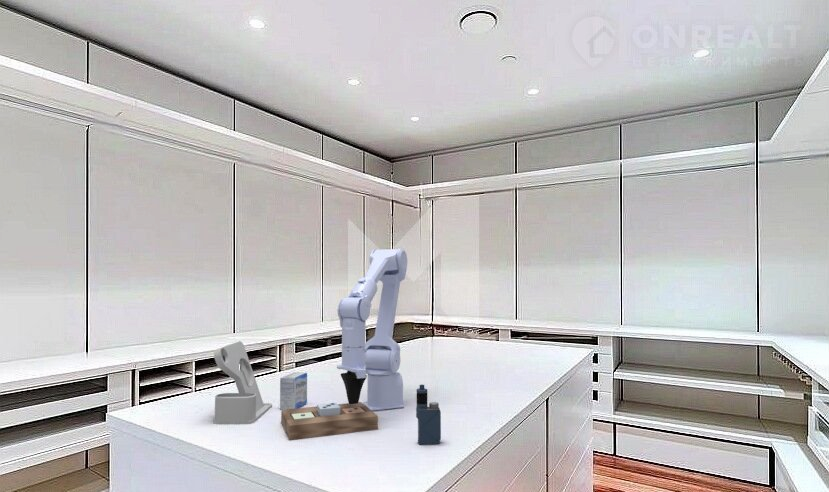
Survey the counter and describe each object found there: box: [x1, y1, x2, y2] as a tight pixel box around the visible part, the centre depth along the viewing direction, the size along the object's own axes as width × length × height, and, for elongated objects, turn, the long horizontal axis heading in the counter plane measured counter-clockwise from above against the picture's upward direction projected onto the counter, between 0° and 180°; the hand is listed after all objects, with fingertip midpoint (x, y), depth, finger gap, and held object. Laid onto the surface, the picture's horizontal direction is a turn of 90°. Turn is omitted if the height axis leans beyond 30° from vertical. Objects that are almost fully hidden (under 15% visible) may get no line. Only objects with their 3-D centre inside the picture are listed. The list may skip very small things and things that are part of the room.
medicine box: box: [279, 371, 308, 410], centre depth 129 cm, size 8×4×9 cm, turn 168°
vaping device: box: [415, 384, 442, 446], centre depth 100 cm, size 3×5×12 cm, turn 95°
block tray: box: [280, 401, 379, 441], centre depth 112 cm, size 20×14×3 cm
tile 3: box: [316, 402, 340, 417], centre depth 112 cm, size 5×5×2 cm
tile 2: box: [341, 407, 365, 414], centre depth 114 cm, size 5×5×2 cm
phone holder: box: [212, 340, 273, 425], centre depth 122 cm, size 17×10×18 cm, turn 0°
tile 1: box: [291, 412, 314, 420], centre depth 109 cm, size 5×5×2 cm
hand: (353, 403), depth 114 cm, fingers closed
